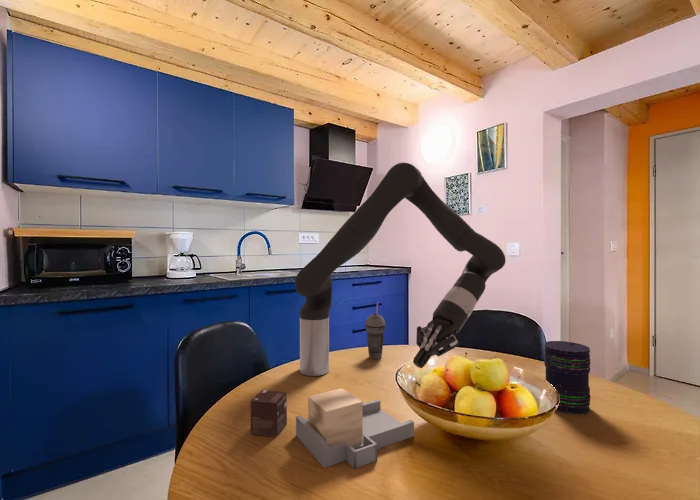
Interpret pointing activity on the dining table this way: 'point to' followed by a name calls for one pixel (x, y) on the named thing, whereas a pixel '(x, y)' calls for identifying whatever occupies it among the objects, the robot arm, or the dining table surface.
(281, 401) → the box
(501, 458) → the dining table surface
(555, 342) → the black striped cylinder
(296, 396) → the dining table surface
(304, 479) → the dining table surface
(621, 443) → the dining table surface
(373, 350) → the beverage cup
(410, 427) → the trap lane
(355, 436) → the maple cube
